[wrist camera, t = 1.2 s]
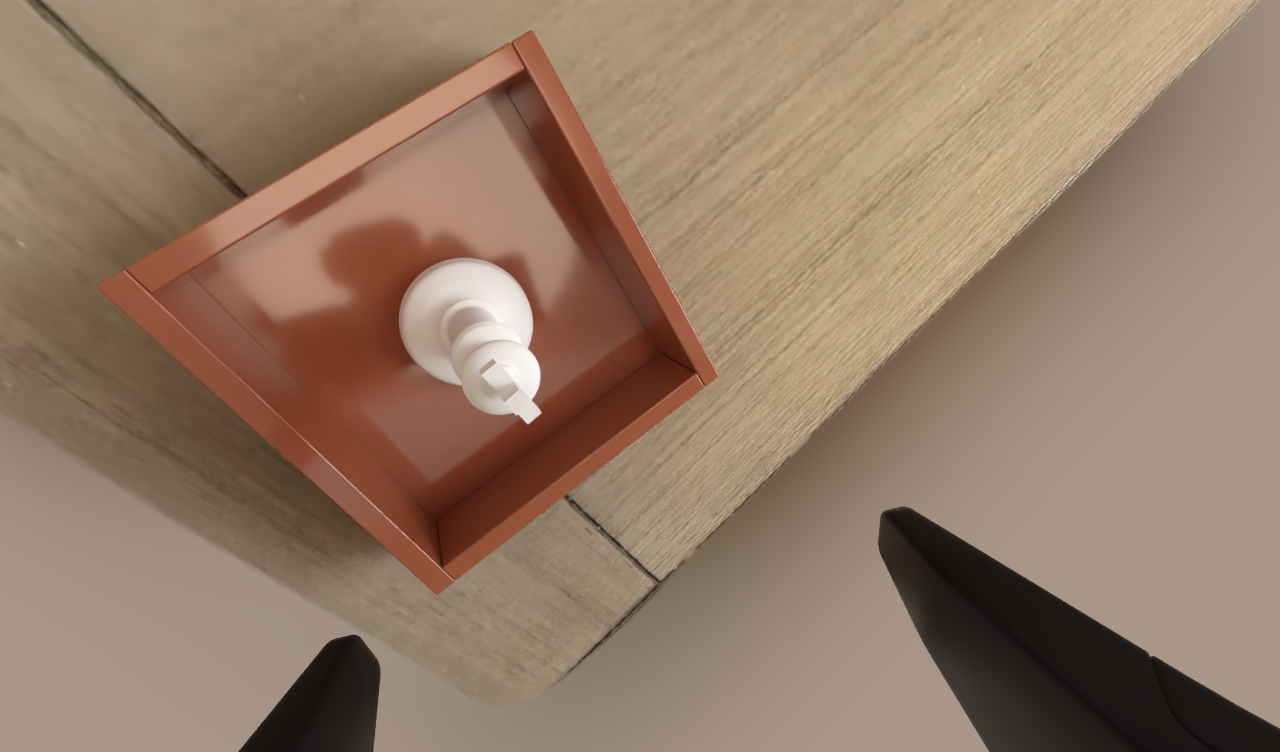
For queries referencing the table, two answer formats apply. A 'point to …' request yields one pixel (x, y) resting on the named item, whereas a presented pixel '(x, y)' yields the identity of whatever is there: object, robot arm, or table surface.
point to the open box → (371, 298)
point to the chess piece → (473, 334)
